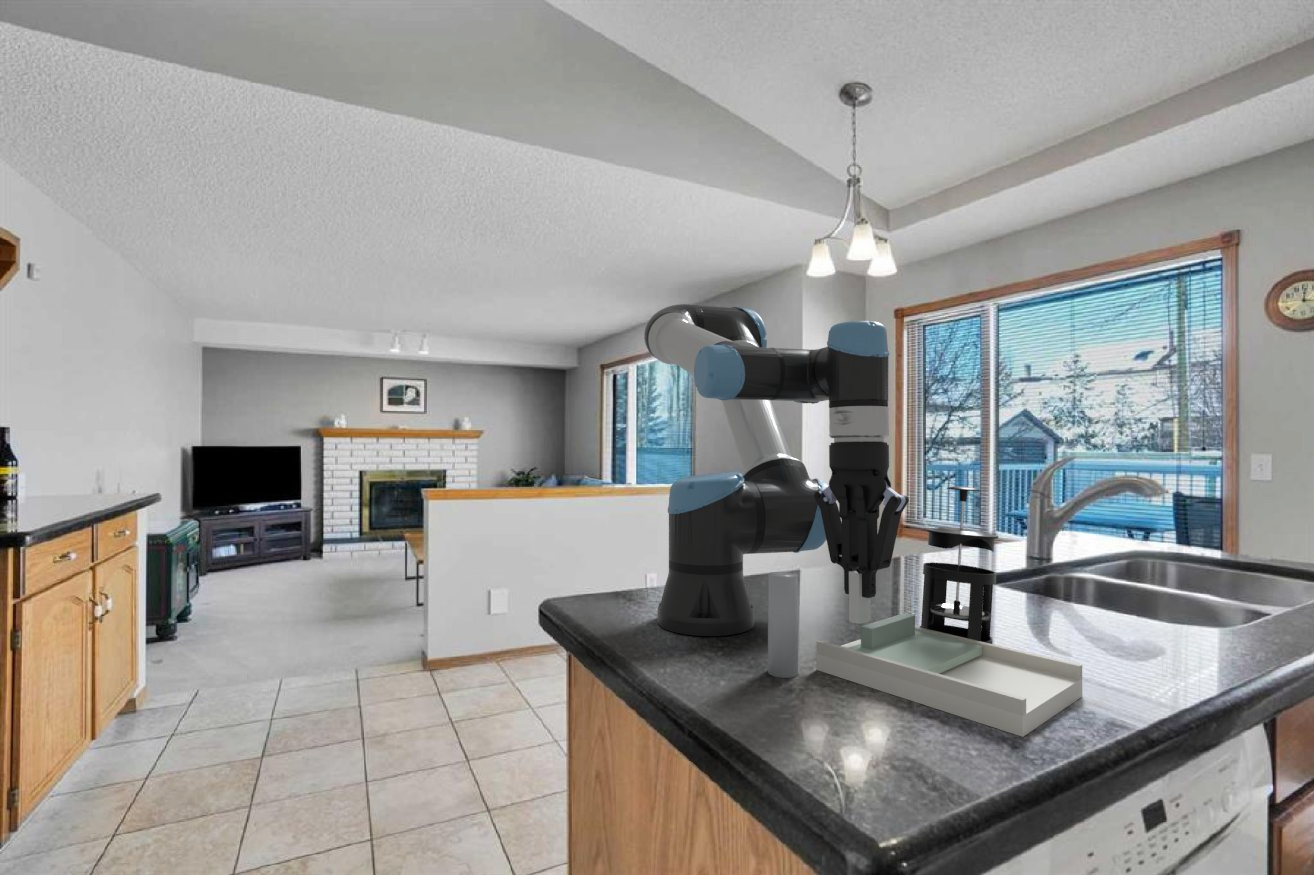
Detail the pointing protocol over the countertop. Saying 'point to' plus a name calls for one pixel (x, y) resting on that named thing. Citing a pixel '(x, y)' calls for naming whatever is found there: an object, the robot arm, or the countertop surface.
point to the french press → (958, 582)
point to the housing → (968, 682)
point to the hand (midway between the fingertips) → (860, 620)
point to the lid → (913, 645)
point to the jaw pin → (783, 624)
